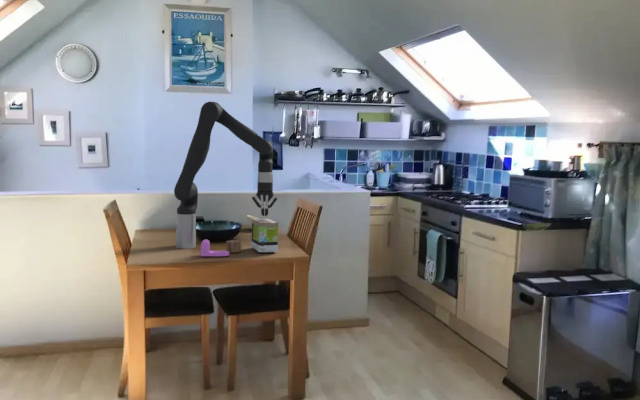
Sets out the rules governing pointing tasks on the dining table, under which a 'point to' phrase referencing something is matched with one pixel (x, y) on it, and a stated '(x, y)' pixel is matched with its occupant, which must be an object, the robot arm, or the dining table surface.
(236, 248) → the walnut block
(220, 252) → the bracket
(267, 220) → the tea box
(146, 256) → the dining table surface
